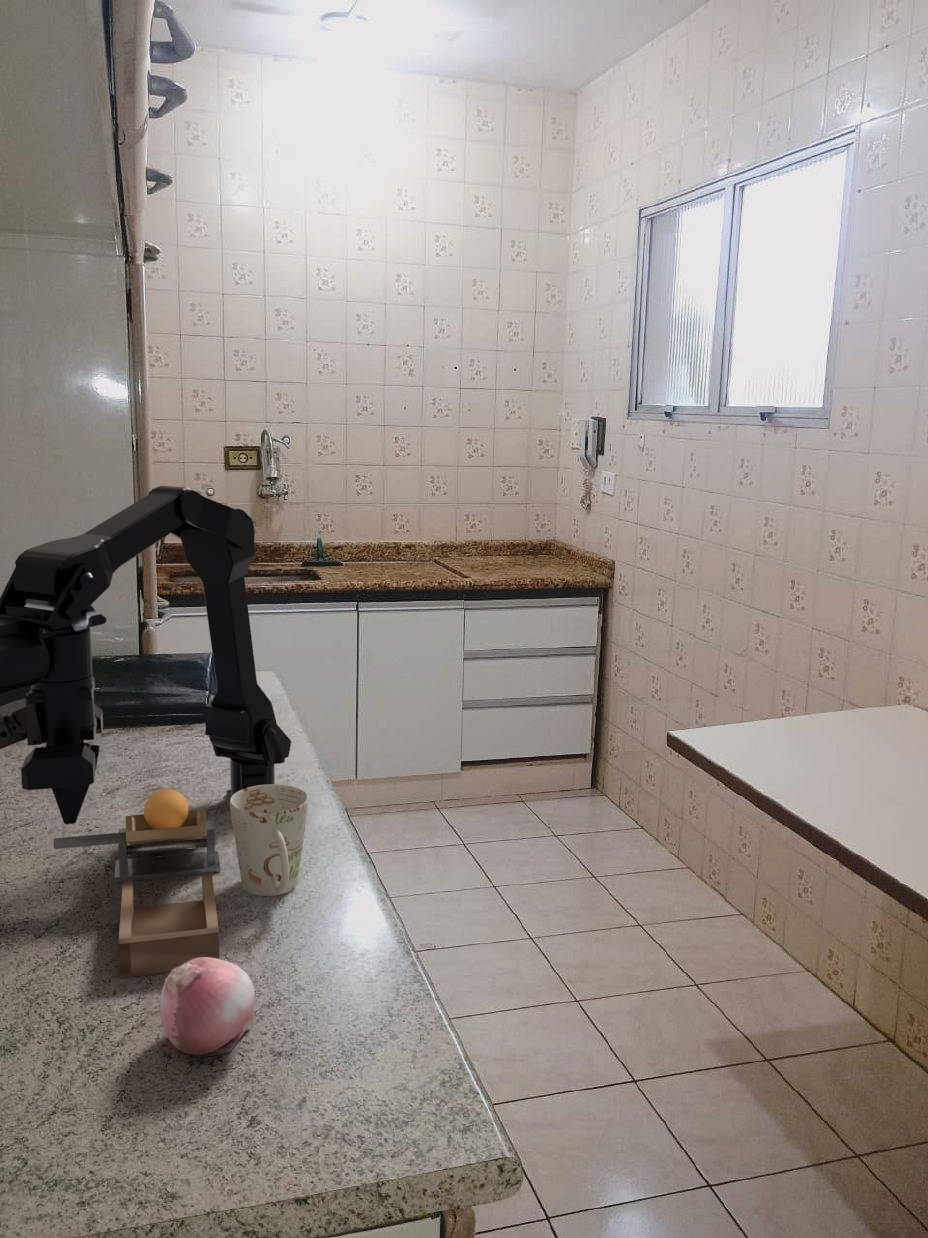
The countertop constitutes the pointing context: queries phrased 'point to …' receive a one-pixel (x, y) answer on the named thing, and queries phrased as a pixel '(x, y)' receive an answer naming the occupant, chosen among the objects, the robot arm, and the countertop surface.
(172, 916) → the tray
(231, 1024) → the onion
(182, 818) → the ball
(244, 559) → the robot arm
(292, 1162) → the countertop surface
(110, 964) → the countertop surface
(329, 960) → the countertop surface
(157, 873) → the stand
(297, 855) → the mug
